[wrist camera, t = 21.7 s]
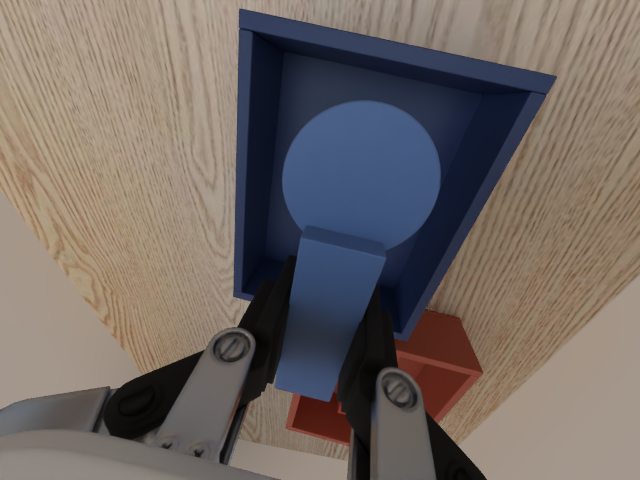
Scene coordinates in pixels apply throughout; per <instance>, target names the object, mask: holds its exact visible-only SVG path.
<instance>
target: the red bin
mask: <svg viewBox="0 0 640 480" xmlns="http://www.w3.org/2000/svg"><path fill="white" fill-rule="evenodd" d="M394 340H395V347H396V354H397V356H399V357H400V358H399V361H398V368H399V369H402V370H404V371H405V372H407V373H408V374H409V375H411V376H412V378H413V379H414V380H415V381H416V382H417V384H418V386H419V387H420V390H421V393H422V397H423V402H424V408H425V410H426V412H427V413H428V414H429V415H430V416H431V417H432V418H433V419H434V420H435V421H436V423H437V424H438V423H439V422H440V421H441V420H442V419H443V417H444V416H445V415H446V414H447V413H448V412H449V411H450V410H451V408H452V407H453V406H454V405H455V404H456V403H457V402H458V401H459V400H460V398H461V397H462V396H463V395H464V394H465V393H466V392H467V391H468V389H469V388H470V387H471V386H472V385H473V384H474V383H475V382H476V381H477V379H478V378H479V377H480V376H481V375H482V374H483V371H482V368H481V366H480V364H479V362H478V359H477V357H476V355H475V353H474V350H473V348H472V346H471V344H470V341H469V339H468V337H467V335H466V332H465V330H464V328H463V326H462V323H461V321H460V319H459V318H456V317H452V316H448V315H444V314H440V313H436V312H432V311H428V310H425V311H424V312H423V314H422V316H421V318H420V319H419V321H418V323H417V325H416V326H415V328H414V330H413V332H412V333H411V335H410V337H409V339H408V340H407V342H406V341H402V340H398V339H395V338H394ZM337 389H338V381H337V384H336V386H335V389H334V391H333V394H332V396H331V399H330V401H329V402H327V401H323V400H319V399H315V398H311V397H307V396H303V395H300V394H296V393H294V394H293V398H292V403H291V407H290V411H289V415H288V419H287V423H286V429H289V430H292V431H296V432H300V433H303V434H307V435H311V436H314V437H318V438H321V439H325V440H329V441H332V442H336V443H339V444H343V445H347V446H349V445H350V431H351V425H350V424H349V422H348V421H347V420H346V415H344V414H341V413H338V412H337V409H338V401H337Z"/></svg>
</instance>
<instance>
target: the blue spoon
mask: <svg viewBox="0 0 640 480" xmlns="http://www.w3.org/2000/svg"><path fill="white" fill-rule="evenodd" d="M440 180H441V170H440V162H439V157H438V153H437V150H436V148H435V145H434V143H433V141H432V139H431V137H430V136H429V134H428V133H427V131H426V130H425V129H424V127H423V126H422V125H421V124H420V123H419V122H418V121H417V120H416V119H415V118H414V117H412V116H411V115H409V114H408V113H406V112H405V111H403V110H401V109H399V108H397V107H395V106H393V105H390V104H386V103H383V102H377V101H370V100H358V101H351V102H345V103H342V104H339V105H336V106H333V107H331V108H329V109H327V110H325V111H323V112H321V113H320V114H318V115H317V116H315V117H314V118H313V119H311V120H310V121H309V122H308V123H307V124H306V125H305V126H304V127H303V128H302V129H301V130H300V132H299V133H298V134H297V136H296V137H295V139H294V140H293V142H292V144H291V146H290V148H289V150H288V152H287V155H286V159H285V162H284V167H283V175H282V185H283V193H284V198H285V202H286V205H287V208H288V210H289V212H290V214H291V216H292V218H293V219H294V221H295V222H296V224H297V225H298V226H299V228H300V229H301V230H302V231H303V234H302V236H301V238H300V244H299V250H298V255H297V261H296V267H295V272H294V278H293V284H292V290H291V295H290V301H289V304H290V308H289V313H288V319H287V324H286V330H285V335H284V341H283V346H282V352H281V358H280V362H279V365H278V369H277V375H276V381H275V388H277V389H280V390H284V391H288V392H292V393H296V394H300V395H303V396H307V397H311V398H315V399H319V400H323V401H327V402H329V401H330V399H331V396H332V394H333V391H334V389H335V386H336V384H337V381H338V377H339V373H340V370H341V368H342V365H343V363H344V360H345V358H346V355H347V353H348V350H349V348H350V345H351V343H352V340H353V337H354V335H355V332H356V330H357V327H358V325H359V322H361V321H362V319H363V316H364V314H365V311H366V308H367V306H368V303H369V301H370V298H371V296H372V293H373V291H374V288H375V286H376V283H377V281H378V278H379V276H380V273H381V271H382V268H383V266H384V263H385V261H386V253H385V250H388V249H390V248H393V247H395V246H397V245H399V244H400V243H402V242H404V241H405V240H407V239H408V238H409V237H411V236H412V235H413V234H414V233H415V232H416V231H417V230H418V229H419V228H420V227H421V226H422V225H423V224H424V222H425V221H426V219H427V218H428V217H429V215H430V213H431V211H432V209H433V207H434V205H435V202H436V200H437V197H438V193H439V189H440Z"/></svg>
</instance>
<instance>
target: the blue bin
mask: <svg viewBox="0 0 640 480" xmlns="http://www.w3.org/2000/svg"><path fill="white" fill-rule="evenodd" d="M239 28H240V29H239V57H238V105H237V152H236V200H235V248H234V291H233V297H236V298H240V299H244V300H248V301H252V299H253V298H254V296H255V294H256V292H257V290H258V288H259V287H260V285H261V283H262V281H263V280H264V279H266V280H270V281H274V282H276V281H277V279H278V277H279V275H280V273H281V271H282V269H283V266H284V264H285V262H286V260H287V258H288V256H289V255H293V256H297V255H298V250H299V244H300V238H301V236H302V234H303V231H302V230H301V229H300V228H299V226H298V225H297V224H296V222H295V221H294V219H293V218H292V216H291V214H290V212H289V210H288V208H287V205H286V202H285V198H284V193H283V185H282V175H283V167H284V162H285V159H286V155H287V152H288V150H289V148H290V146H291V144H292V142H293V140H294V139H295V137H296V136H297V134H298V133H299V132H300V130H301V129H302V128H303V127H304V126H305V125H306V124H307V123H308V122H309V121H310V120H311V119H313V118H314V117H315V116H317V115H318V114H320V113H321V112H323V111H325V110H327V109H329V108H331V107H333V106H336V105H339V104H342V103H345V102H351V101H358V100H370V101H377V102H383V103H386V104H390V105H393V106H395V107H397V108H399V109H401V110H403V111H405V112H406V113H408V114H409V115H411V116H412V117H414V118H415V119H416V120H417V121H418V122H419V123H420V124H421V125H422V126H423V127H424V129H425V130H426V131H427V133H428V134H429V136H430V137H431V139H432V141H433V143H434V145H435V148H436V150H437V153H438V157H439V162H440V170H441V180H440V189H439V193H438V197H437V200H436V202H435V205H434V207H433V209H432V211H431V213H430V215H429V217H428V218H427V219H426V221H425V222H424V224H423V225H422V226H421V227H420V228H419V229H418V230H417V231H416V232H415V233H414V234H413V235H412V236H411V237H409V238H408V239H407V240H405V241H404V242H402V243H400V244H399V245H397V246H395V247H393V248H390V249H388V250H385V253H386V261H385V263H384V266H383V268H382V271H381V273H380V276H379V278H378V285H379V295H380V306H381V308H382V309H386V310H389V311H390V313H391V319H392V326H393V333H394V338H395V339H398V340H402V341H406V342H407V340H408V339H409V337H410V335H411V333H412V332H413V330H414V328H415V326H416V325H417V323H418V321H419V319H420V318H421V316H422V314H423V312H424V311H425V309H426V307H427V305H428V304H429V302H430V300H431V298H432V296H433V295H434V293H435V291H436V289H437V288H438V286H439V284H440V282H441V281H442V279H443V277H444V275H445V274H446V272H447V270H448V268H449V267H450V265H451V263H452V261H453V259H454V258H455V256H456V254H457V252H458V251H459V249H460V247H461V245H462V244H463V242H464V240H465V238H466V237H467V235H468V233H469V231H470V230H471V228H472V226H473V224H474V223H475V221H476V219H477V217H478V215H479V214H480V212H481V210H482V208H483V207H484V205H485V203H486V201H487V200H488V198H489V196H490V194H491V193H492V191H493V189H494V187H495V186H496V184H497V182H498V180H499V178H500V177H501V175H502V173H503V171H504V170H505V168H506V166H507V164H508V163H509V161H510V159H511V157H512V156H513V154H514V152H515V150H516V149H517V147H518V145H519V143H520V141H521V140H522V138H523V136H524V134H525V133H526V131H527V129H528V127H529V126H530V124H531V122H532V120H533V119H534V117H535V115H536V113H537V112H538V110H539V108H540V106H541V104H542V103H543V101H544V99H545V97H546V94H548V92H549V90H550V89H551V87H552V85H553V83H554V82H555V80H556V78H557V77H556V76H554V75H549V74H544V73H540V72H535V71H530V70H525V69H521V68H516V67H511V66H507V65H502V64H497V63H493V62H488V61H483V60H479V59H474V58H469V57H465V56H460V55H455V54H451V53H446V52H441V51H437V50H432V49H427V48H422V47H418V46H413V45H408V44H404V43H399V42H394V41H390V40H385V39H380V38H376V37H371V36H366V35H362V34H357V33H352V32H348V31H343V30H338V29H334V28H329V27H324V26H319V25H315V24H310V23H305V22H301V21H296V20H291V19H287V18H282V17H277V16H273V15H268V14H263V13H259V12H254V11H249V10H245V9H239Z"/></svg>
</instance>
